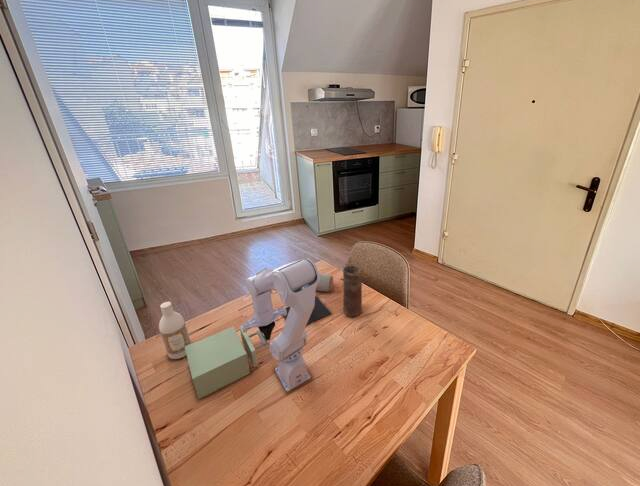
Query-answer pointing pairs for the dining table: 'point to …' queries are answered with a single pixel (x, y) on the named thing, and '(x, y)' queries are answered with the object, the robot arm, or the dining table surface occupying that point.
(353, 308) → the dark brown flask
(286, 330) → the robot arm
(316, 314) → the mat
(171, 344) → the bath foam
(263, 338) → the drawer
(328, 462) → the dining table surface
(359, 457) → the dining table surface
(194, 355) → the green drawer cabinet
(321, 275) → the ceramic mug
